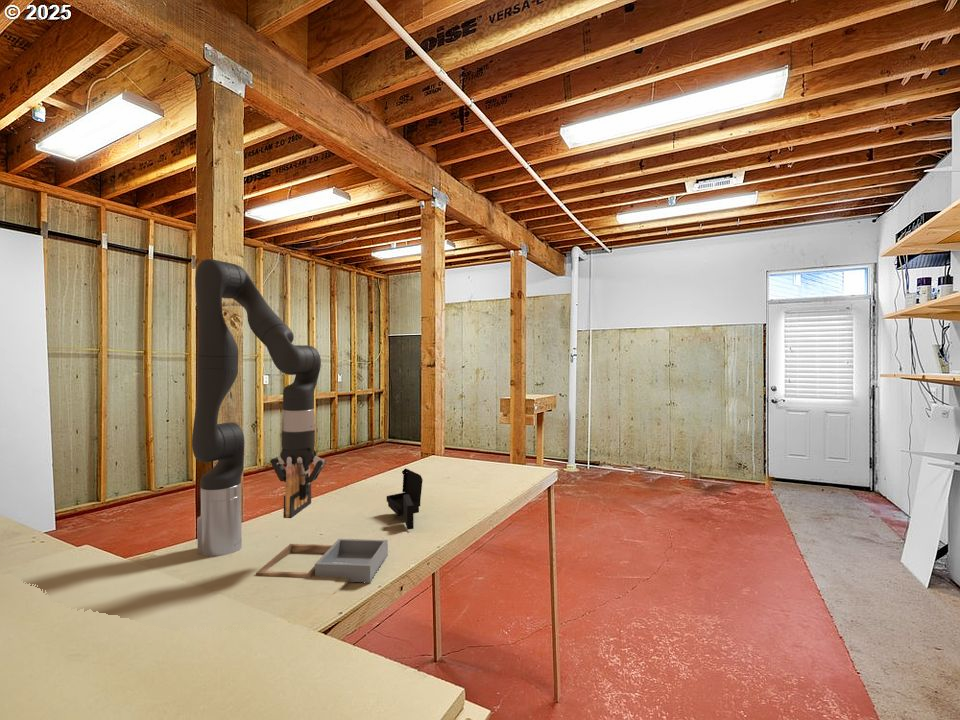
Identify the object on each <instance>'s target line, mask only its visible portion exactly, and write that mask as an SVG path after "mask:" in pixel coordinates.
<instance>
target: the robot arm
mask: <svg viewBox="0 0 960 720" xmlns="http://www.w3.org/2000/svg"><path fill="white" fill-rule="evenodd" d="M194 277H195V278H194V279H195V280H194V284H195V285H194V286H195V297H196V299H195V300H196V309H197V310H196V311H197V352H196V353H197V354H196V355H197V356H196V358H197V359H196V380H197V381H196V382H197V383H196V401H195V402H196V403H195V413H194V418H193V427H192V434H191V435H192V436H191V448H192V453H193V456H194V458H195V459H196V460H197V461H198V462H199V463H203V464H204V463H210V462H215V461H217V463H216V464H214V466H213V467H212V468H211V469H210V470H208V471H207V472H206V473H204V474H202V476H201V478H200V485H199V487H200V516H198V517H197V518H196V521H197V522H196V523H197V524H196V525H197V526H196V527H197V528H196V529H197V531H196V532H197V535H196V536H197V538H196V539H197V542H196V543H197V555H198V554H200V555H203V556H204V557H205V556H206V557H219V556H220V557H221V556H225V555H230V554H234V553H236V552H238V551H239V550H241V548H242V547H243V546H242V545H243V544H242V543H243V542H242V541H243V537H242V535H243V534H242V531H243V529H242V526H243V525H242V475H243V472H244V469H245V468H244V465H245V464H244V463H245V462H244V461H245V436H244V432H243V429H242V428H241V426H240V425H239V423H236V422H224V423H223V422H222V423H218V420H219V413H220V408H221V405H222V403H223V401H224V399H225V398H226V397H227V395H228V393H229V392H230V390H231V388H232V387H233V385H234V383H235V381H236V379H237V376H238V374H239V347H238V344H237V342H236V339H235V338H234V336H233V334H232V333H231V331H230V329H229V326H228V325H227V323H226V321H225V319H224V314H223V299H227V300H229V299H233V300H234V301H235V302H236V303H238V304H239V305H240V306H241V307H242V308H244V310H245V311H246V318H247V324H248V326H249V328H250V330H251V331H252V332H253V334H254V335H255V336H256V338H258V340H259V341H260V342H261V343H262V344H263V345H264V346H265V347H266V348H267V351H268V354H269V356H270V357H271V359H272V362H273V364H274V366H275V367H276V368H277V369H278V371H280V372H282V373H283V374H285V375H288V376H293V375H294V376H295V377H294V379H293V382H292V383H290V384H289V385H287V386H285V387H284V388H283V392H282V414H281V415H282V416H281V451H280V454H279V456H276V457H274V458H271V459H270V461H269V463H270V465H271V467H272V468H273V470H274V472H275V473H276V475H277V478H278V480H279V481H280V482H284V483H286V475H287V469H288V467H289V466H290V467H291V466H292V464H294V466H295V464H296V463H297V466H298V470H299V476H300V483H301V485H300V500H304V499H305V498H306V497H307V496H308V494H309V492H308V491H309V483H310V484H312V483H313V482H314V481H316V480H317V479H318V477H319V475H320V473H321V471H322V470H323V468H324V466H325V464H326V463H327V459H326V458H322V457H319V456H318V455H317V452H316V450H315V449H316V447H315V446H316V414H315V390H316V386H317V383H318V379H319V376H320V371H321V367H322V366H321V365H322V360H321V356H320V355H321V354H320V353H319V351H318V349H317V348H315V347H314V346H312V345H298V344H297V345H296V344H294V343H293V341H294V338H295V337H294V332H293V331H292V330H291V328H290V327H289V326H288V325H287V324H286V323H285V322H284V321H283V320H282V319H281V318H280V317H279V316H278V315H277V314H276V313H275V311H274V310H273V309H272V308H271V306H269V304H268V302H267V301H266V299H265V298H264V297H263V294H261V292H260V290H259V289H258V288H257V286H256V284H255V283H254V282H253V279H252V278H251V276H250V275H249V274H248V273H247V271H246V270H245V269H244V268H243V267H241V265H238V264H235V263H232V262H225V261H221V260H217V259H212V258H211V259H209V258H207V259H203V260H202V261H201V262H200V263H199V264H198V266H197V267H196V271H195V276H194ZM312 463H313V466H314V468H313V469H312V470H311V465H312ZM284 464H285V465H284ZM285 466H286V467H285ZM309 472H311V473H310V476H309Z"/></svg>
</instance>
